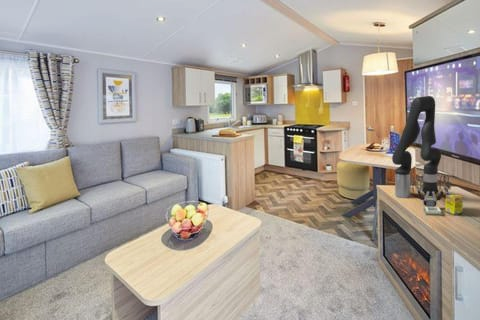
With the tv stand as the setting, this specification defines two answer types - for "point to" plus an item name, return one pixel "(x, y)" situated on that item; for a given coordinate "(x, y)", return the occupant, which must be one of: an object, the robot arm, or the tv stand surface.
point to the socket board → (433, 211)
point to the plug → (430, 201)
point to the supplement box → (454, 204)
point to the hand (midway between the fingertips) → (429, 205)
